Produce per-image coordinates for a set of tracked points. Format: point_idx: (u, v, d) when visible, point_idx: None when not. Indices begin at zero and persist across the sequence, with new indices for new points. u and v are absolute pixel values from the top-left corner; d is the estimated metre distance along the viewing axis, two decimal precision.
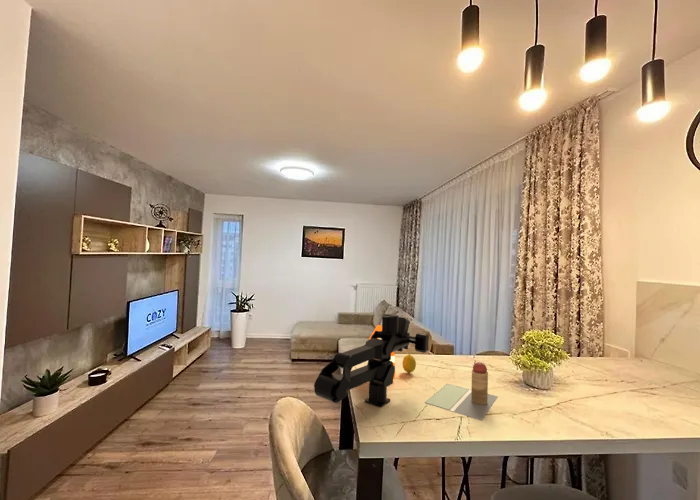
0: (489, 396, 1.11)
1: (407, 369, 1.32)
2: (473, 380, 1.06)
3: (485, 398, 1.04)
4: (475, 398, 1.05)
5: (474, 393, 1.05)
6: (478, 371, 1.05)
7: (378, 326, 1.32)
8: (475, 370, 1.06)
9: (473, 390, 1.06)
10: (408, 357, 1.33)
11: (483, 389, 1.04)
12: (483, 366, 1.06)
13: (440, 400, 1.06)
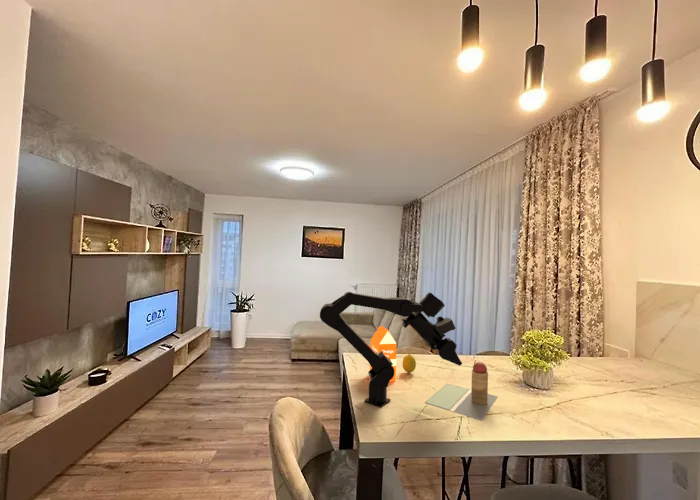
0: (489, 396, 1.11)
1: (407, 369, 1.32)
2: (473, 380, 1.06)
3: (485, 398, 1.04)
4: (475, 397, 1.05)
5: (474, 393, 1.05)
6: (478, 371, 1.05)
7: (380, 327, 1.30)
8: (475, 370, 1.06)
9: (473, 390, 1.06)
10: (408, 357, 1.33)
11: (483, 389, 1.04)
12: (483, 366, 1.06)
13: (440, 400, 1.06)
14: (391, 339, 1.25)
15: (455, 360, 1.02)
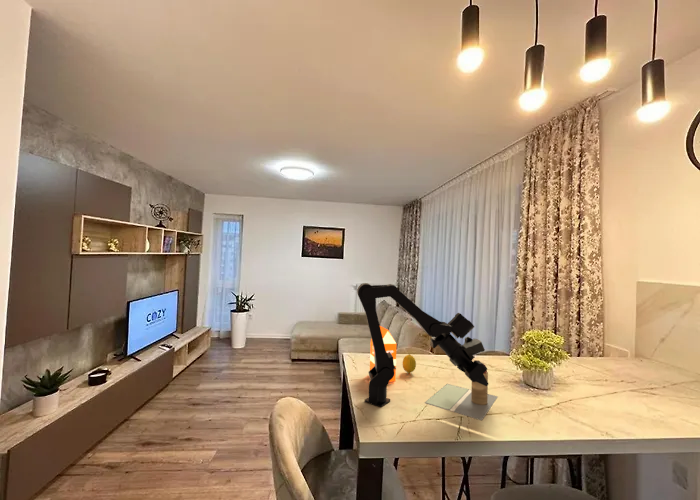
0: (489, 396, 1.11)
1: (407, 369, 1.32)
2: None
3: (485, 398, 1.04)
4: (475, 398, 1.05)
5: (474, 393, 1.05)
6: None
7: (380, 327, 1.30)
8: None
9: (473, 390, 1.06)
10: (408, 357, 1.33)
11: (483, 389, 1.04)
12: None
13: (440, 400, 1.06)
14: (391, 339, 1.25)
15: (482, 381, 1.03)
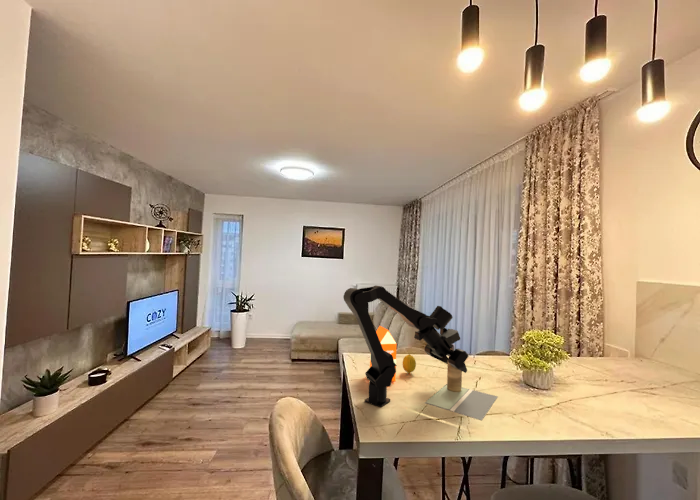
0: (489, 396, 1.11)
1: (407, 369, 1.32)
2: (450, 370, 1.15)
3: (460, 385, 1.15)
4: (452, 386, 1.15)
5: (451, 382, 1.15)
6: None
7: (380, 327, 1.30)
8: None
9: (450, 379, 1.15)
10: (408, 357, 1.33)
11: (459, 377, 1.15)
12: None
13: (440, 400, 1.06)
14: (391, 339, 1.25)
15: (462, 368, 1.12)
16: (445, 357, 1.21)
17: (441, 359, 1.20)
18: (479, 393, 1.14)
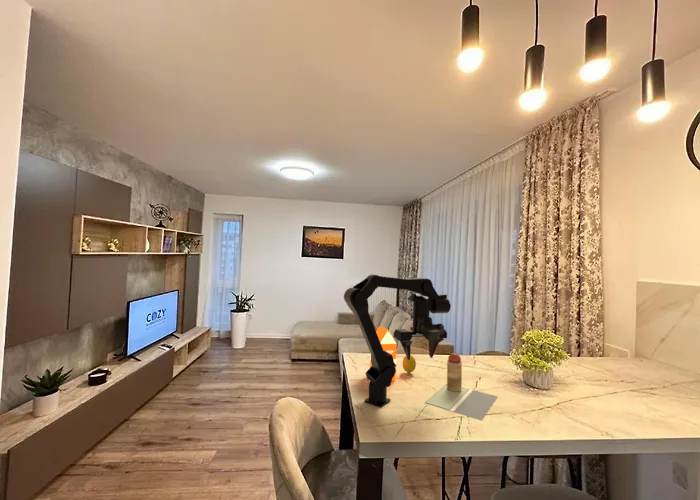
0: (489, 396, 1.11)
1: (407, 369, 1.32)
2: (450, 370, 1.15)
3: (460, 385, 1.15)
4: (452, 386, 1.15)
5: (451, 382, 1.15)
6: (454, 361, 1.15)
7: (380, 327, 1.30)
8: (451, 361, 1.15)
9: (450, 379, 1.15)
10: None
11: (459, 377, 1.15)
12: (458, 356, 1.16)
13: (440, 400, 1.06)
14: (391, 339, 1.25)
15: (406, 351, 1.10)
16: (431, 348, 1.13)
17: (429, 345, 1.14)
18: (479, 393, 1.14)
